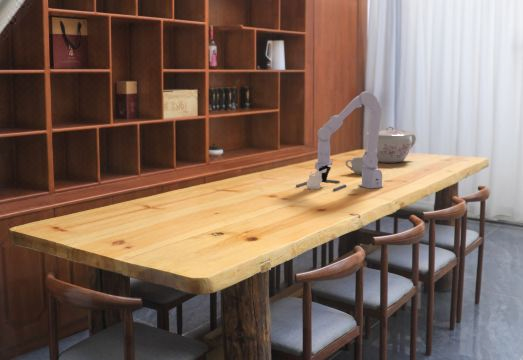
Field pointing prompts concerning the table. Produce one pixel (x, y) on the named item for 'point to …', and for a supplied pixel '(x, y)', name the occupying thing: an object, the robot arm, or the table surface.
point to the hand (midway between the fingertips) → (323, 182)
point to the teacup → (356, 165)
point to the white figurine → (315, 180)
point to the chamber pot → (393, 145)
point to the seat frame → (326, 181)
